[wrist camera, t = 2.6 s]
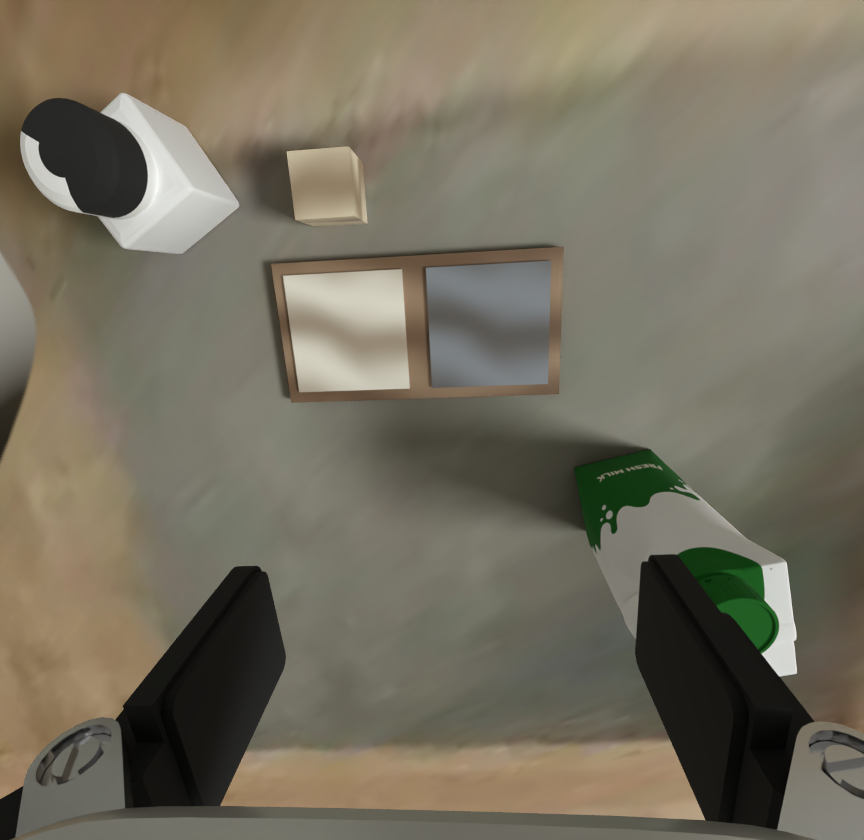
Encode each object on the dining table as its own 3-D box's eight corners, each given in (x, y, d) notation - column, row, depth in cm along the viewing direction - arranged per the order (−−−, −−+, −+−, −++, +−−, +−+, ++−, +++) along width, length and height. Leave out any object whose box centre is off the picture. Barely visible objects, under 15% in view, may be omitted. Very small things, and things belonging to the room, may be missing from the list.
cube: (307, 166, 36) (286, 151, 32) (362, 162, 36) (348, 146, 32) (314, 227, 38) (295, 219, 33) (367, 223, 37) (354, 216, 33)
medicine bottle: (186, 124, 36) (55, 51, 24) (242, 206, 37) (143, 172, 26) (125, 180, 37) (-25, 135, 26) (181, 256, 39) (63, 245, 27)
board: (275, 264, 38) (269, 263, 37) (560, 247, 36) (564, 246, 35) (295, 399, 42) (290, 403, 41) (556, 391, 40) (559, 394, 39)
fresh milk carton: (658, 437, 40) (829, 574, 21) (673, 523, 43) (839, 716, 24) (561, 460, 42) (641, 609, 23) (581, 543, 44) (668, 741, 25)
